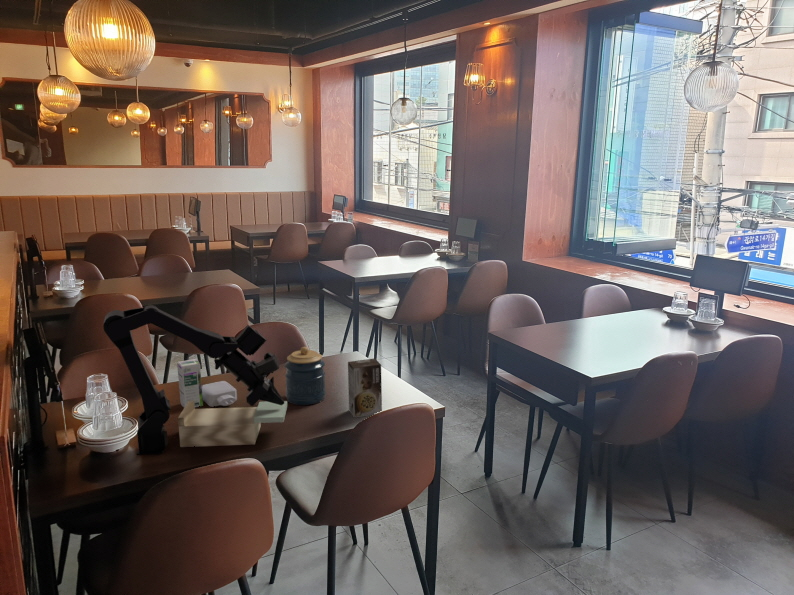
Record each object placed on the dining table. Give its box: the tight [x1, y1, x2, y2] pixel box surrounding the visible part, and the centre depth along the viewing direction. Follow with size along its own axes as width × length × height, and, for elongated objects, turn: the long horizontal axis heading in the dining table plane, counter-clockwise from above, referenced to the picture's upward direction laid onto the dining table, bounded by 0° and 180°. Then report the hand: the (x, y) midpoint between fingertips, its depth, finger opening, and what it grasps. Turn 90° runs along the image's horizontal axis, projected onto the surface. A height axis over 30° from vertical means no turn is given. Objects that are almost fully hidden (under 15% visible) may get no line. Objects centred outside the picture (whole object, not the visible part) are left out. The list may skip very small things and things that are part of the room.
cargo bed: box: [177, 401, 262, 448], centre depth 172 cm, size 20×12×8 cm, turn 95°
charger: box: [202, 380, 238, 408], centre depth 197 cm, size 5×9×15 cm
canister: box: [284, 346, 327, 406], centre depth 200 cm, size 13×13×18 cm
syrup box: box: [176, 358, 204, 409], centre depth 194 cm, size 6×6×14 cm
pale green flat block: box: [254, 400, 288, 424], centre depth 173 cm, size 2×12×8 cm
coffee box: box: [347, 358, 383, 418], centre depth 189 cm, size 9×6×16 cm
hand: (283, 403), depth 173 cm, fingers closed
